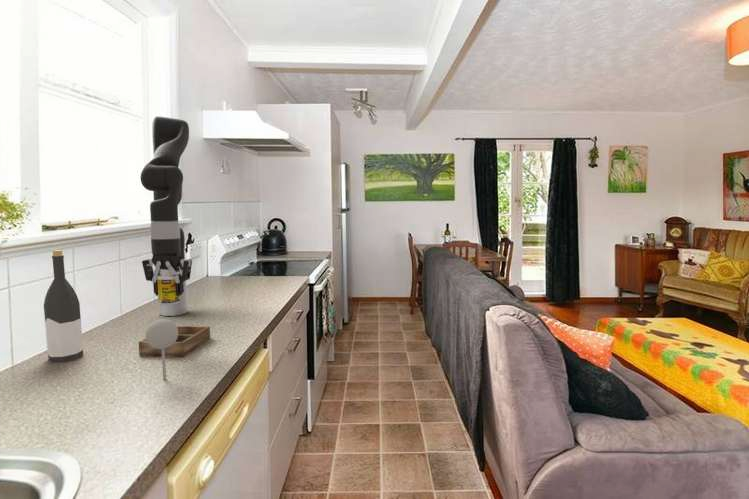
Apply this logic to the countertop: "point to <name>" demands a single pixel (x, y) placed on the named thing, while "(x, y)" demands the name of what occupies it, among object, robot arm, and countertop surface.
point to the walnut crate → (179, 342)
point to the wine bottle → (62, 316)
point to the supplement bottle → (167, 288)
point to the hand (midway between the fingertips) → (168, 295)
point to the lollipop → (162, 337)
